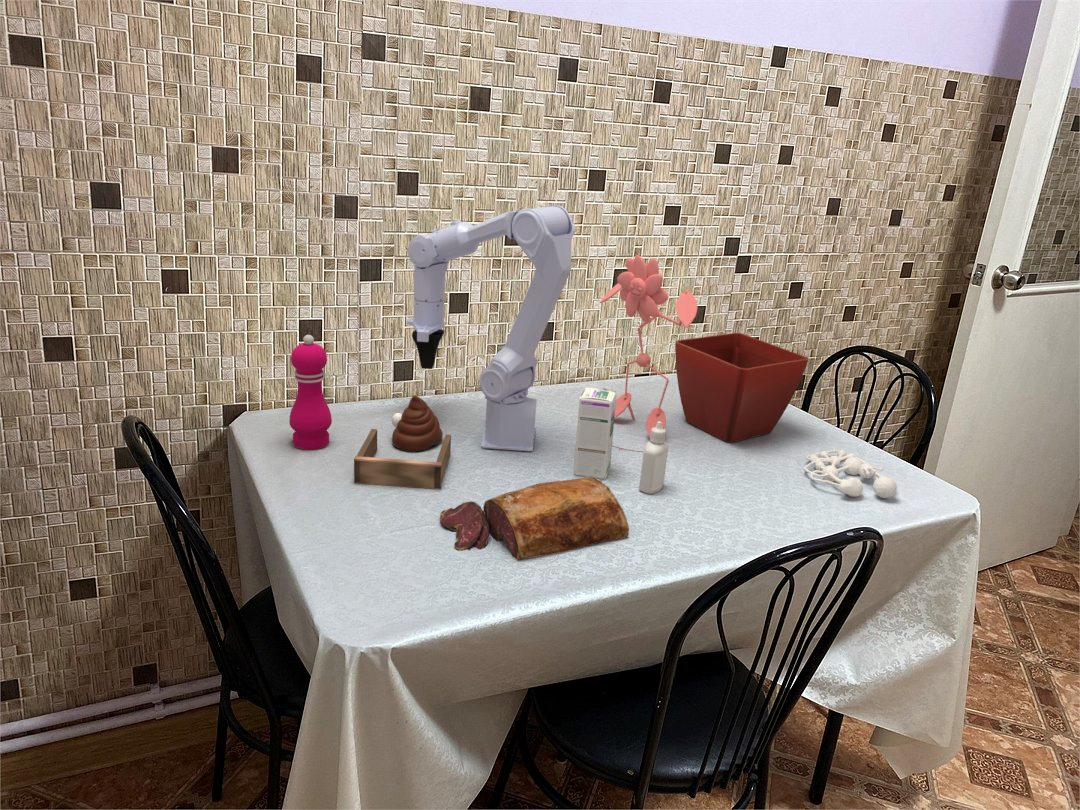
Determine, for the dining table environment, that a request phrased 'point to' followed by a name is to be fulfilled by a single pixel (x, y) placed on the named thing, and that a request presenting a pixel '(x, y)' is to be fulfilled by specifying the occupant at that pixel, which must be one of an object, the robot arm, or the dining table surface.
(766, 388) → the plant pot
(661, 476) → the eye dropper bottle
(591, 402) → the syrup box
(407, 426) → the poop emoji
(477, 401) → the dining table surface
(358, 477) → the frame
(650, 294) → the figurine
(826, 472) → the tangled rod sculpture
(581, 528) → the cured meat
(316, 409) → the pepper mill
